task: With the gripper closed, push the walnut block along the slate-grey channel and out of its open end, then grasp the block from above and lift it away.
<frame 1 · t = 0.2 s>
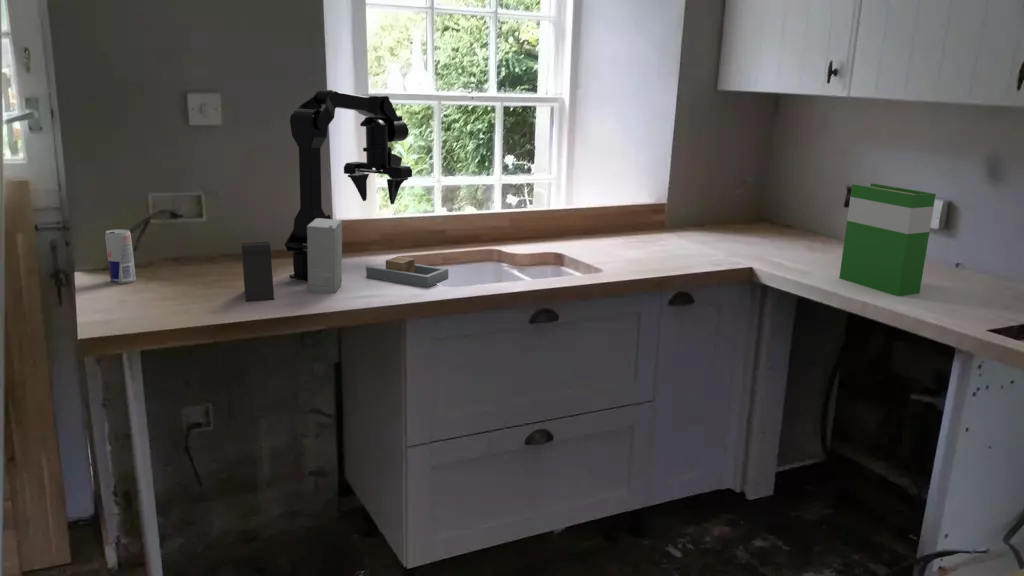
hand: (378, 202, 213), 15 cm above the kitchen counter, tool pointing down, fingers open, 9 cm apart
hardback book: (877, 286, 196), on the kitchen counter
slate channel: (407, 277, 194), on the kitchen counter
dark grey upright block: (259, 296, 177), on the kitchen counter
walnut block: (400, 277, 195), resting in slate channel
energy drink: (123, 282, 186), on the kitchen counter
skincare box: (326, 289, 183), on the kitchen counter
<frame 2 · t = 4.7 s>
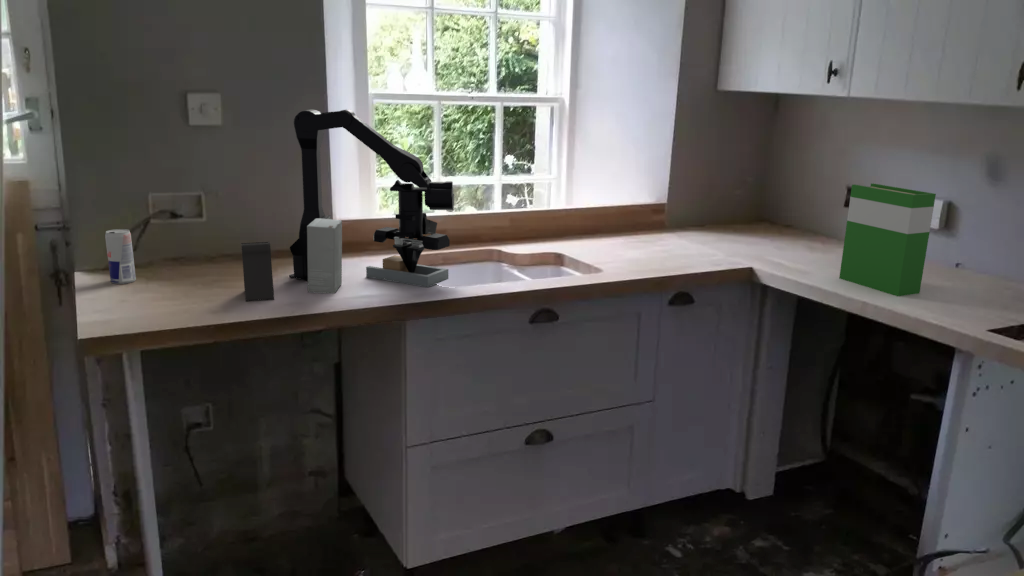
hand: (411, 272, 193), 1 cm above the kitchen counter, tool pointing down, fingers closed
walnut block: (397, 276, 195), resting in slate channel, touching gripper
everything else where it was.
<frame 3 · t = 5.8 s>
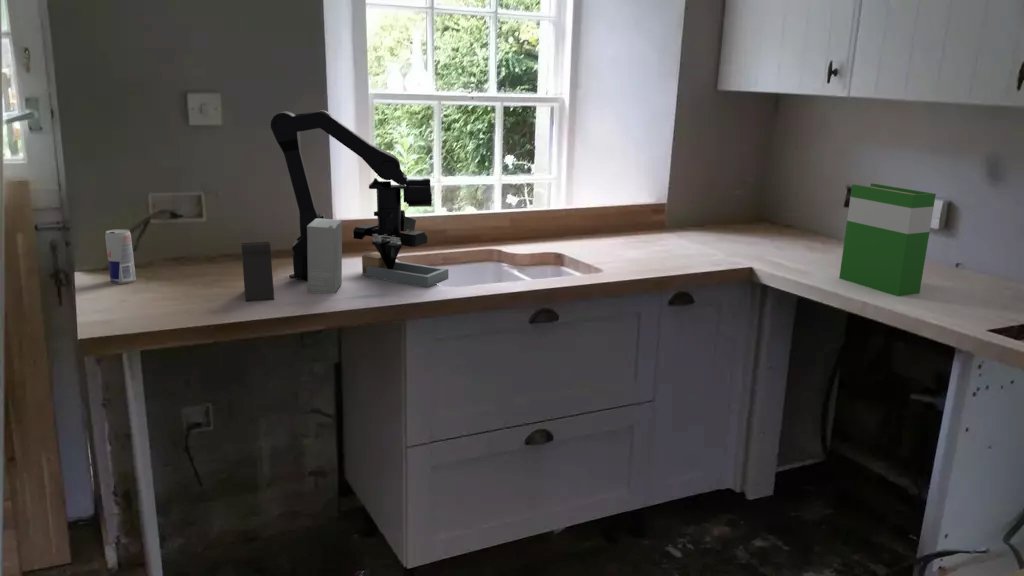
hand: (390, 269, 196), 1 cm above the kitchen counter, tool pointing down, fingers closed
walnut block: (376, 272, 198), on the kitchen counter, touching gripper
everything else where it was.
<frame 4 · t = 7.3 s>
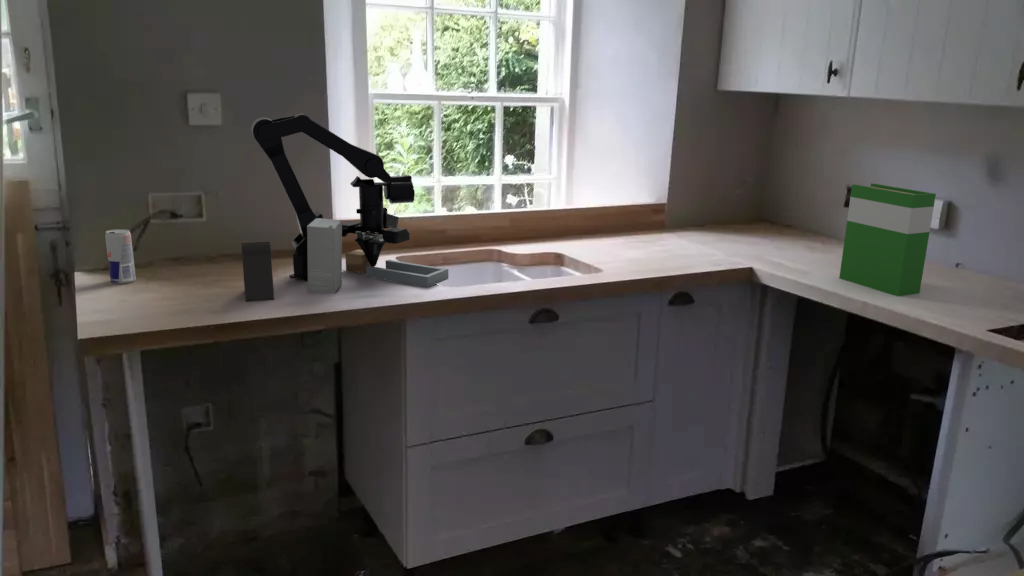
hand: (373, 266, 198), 2 cm above the kitchen counter, tool pointing down, fingers closed
walnut block: (360, 269, 201), on the kitchen counter, touching gripper
everything else where it was.
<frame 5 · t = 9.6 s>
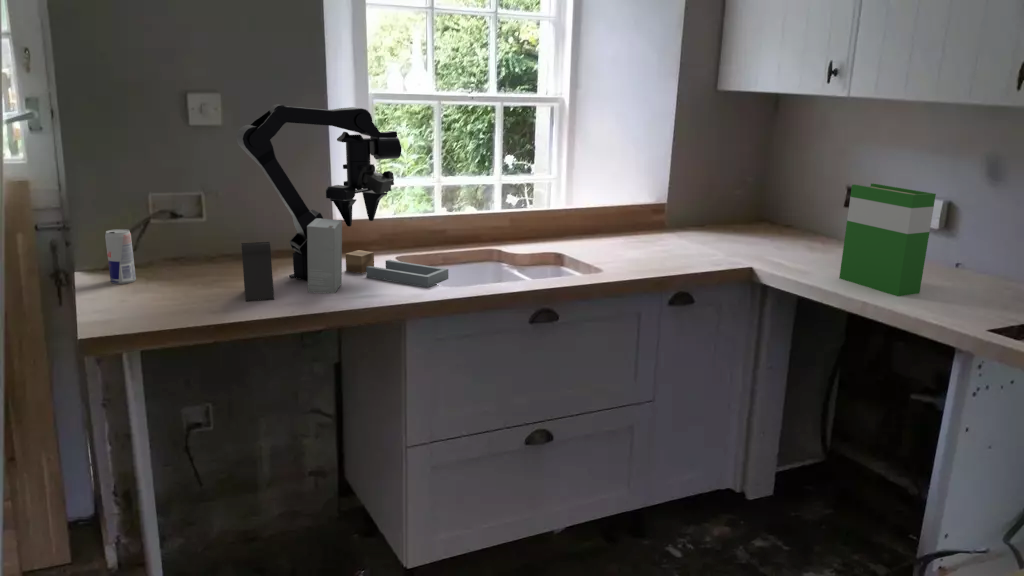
hand: (360, 223, 197), 12 cm above the kitchen counter, tool pointing down, fingers open, 8 cm apart
walnut block: (360, 270, 201), on the kitchen counter
everything else where it was.
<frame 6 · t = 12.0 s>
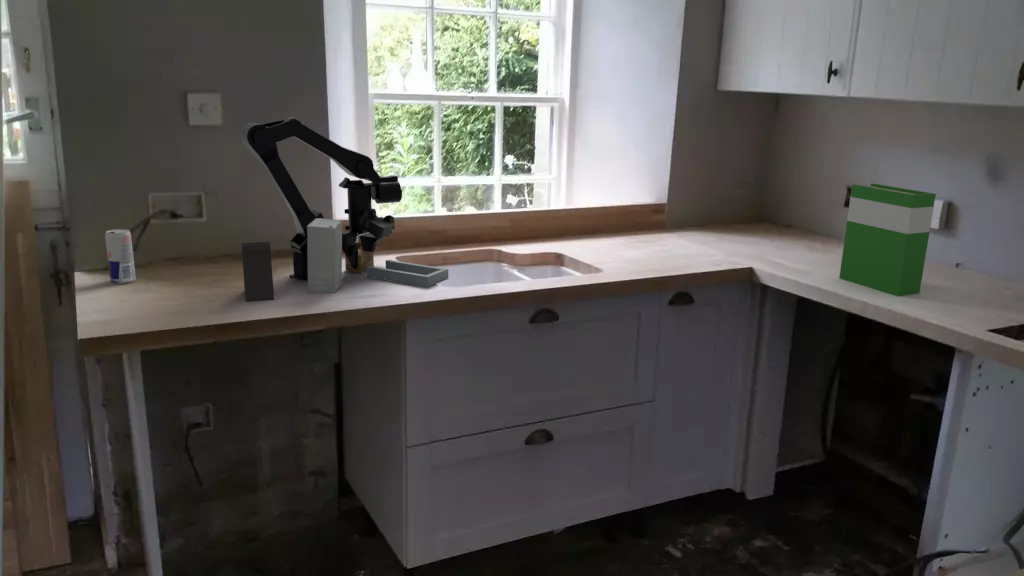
hand: (361, 266, 200), 1 cm above the kitchen counter, tool pointing down, fingers closed on walnut block, 5 cm apart
walnut block: (359, 270, 201), on the kitchen counter, touching gripper
everything else where it was.
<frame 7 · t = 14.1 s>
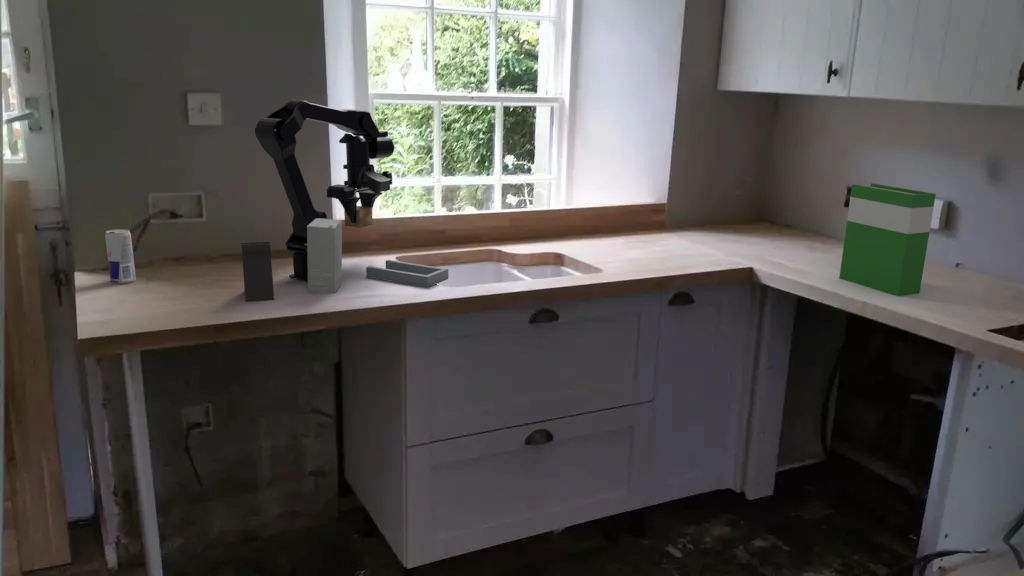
hand: (360, 221, 204), 11 cm above the kitchen counter, tool pointing down, fingers closed on walnut block, 5 cm apart
walnut block: (358, 225, 205), point 10 cm above the kitchen counter, touching gripper
everything else where it was.
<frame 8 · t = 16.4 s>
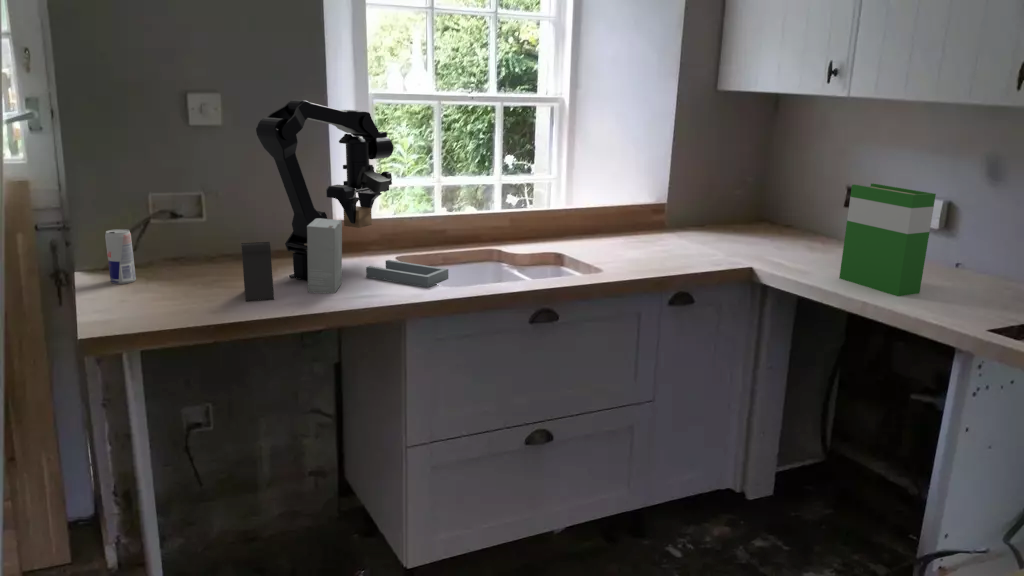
hand: (359, 221, 205), 11 cm above the kitchen counter, tool pointing down, fingers closed on walnut block, 5 cm apart
walnut block: (357, 225, 205), point 10 cm above the kitchen counter, touching gripper
everything else where it was.
at the end: the gripper is holding walnut block; walnut block point 9.9 cm above the kitchen counter; walnut block moved 21.0 cm from its start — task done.
